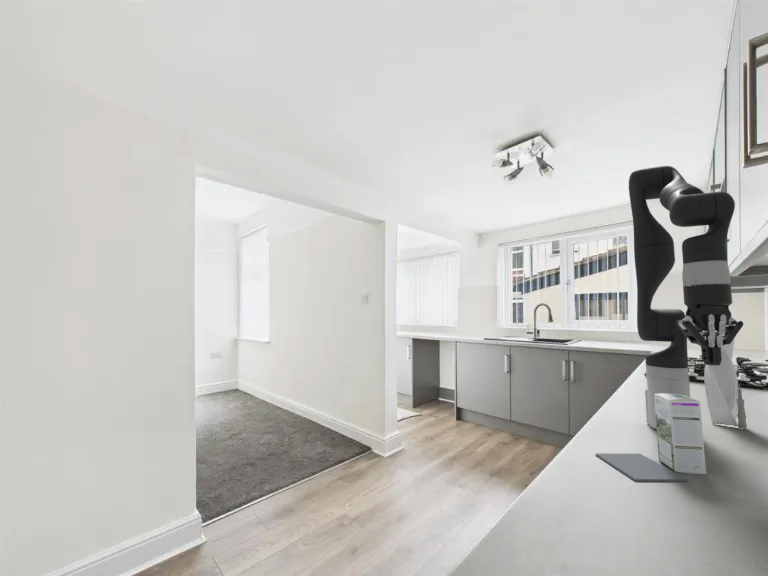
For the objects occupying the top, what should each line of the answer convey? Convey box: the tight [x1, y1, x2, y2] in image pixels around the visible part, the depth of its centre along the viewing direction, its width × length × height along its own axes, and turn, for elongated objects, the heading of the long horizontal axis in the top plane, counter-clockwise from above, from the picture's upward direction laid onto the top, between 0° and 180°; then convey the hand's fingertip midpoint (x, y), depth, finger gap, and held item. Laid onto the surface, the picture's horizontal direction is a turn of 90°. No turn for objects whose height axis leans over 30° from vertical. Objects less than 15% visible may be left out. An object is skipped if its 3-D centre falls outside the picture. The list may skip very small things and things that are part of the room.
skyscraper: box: [703, 336, 748, 429], centre depth 100 cm, size 8×8×28 cm
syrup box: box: [654, 393, 707, 476], centre depth 71 cm, size 6×6×14 cm
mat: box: [595, 453, 689, 483], centre depth 70 cm, size 12×10×1 cm
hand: (712, 364), depth 72 cm, fingers closed
